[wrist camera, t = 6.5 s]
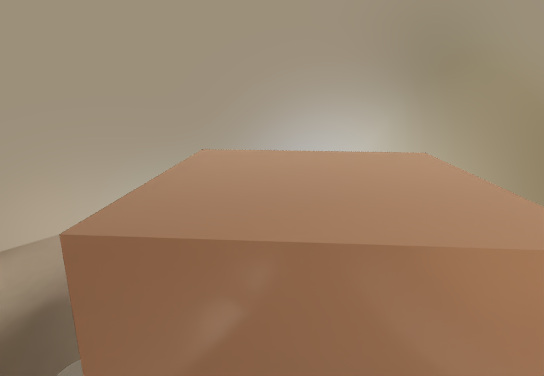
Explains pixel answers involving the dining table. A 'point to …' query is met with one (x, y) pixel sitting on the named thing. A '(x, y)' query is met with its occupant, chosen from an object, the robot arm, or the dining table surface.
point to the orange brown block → (310, 270)
